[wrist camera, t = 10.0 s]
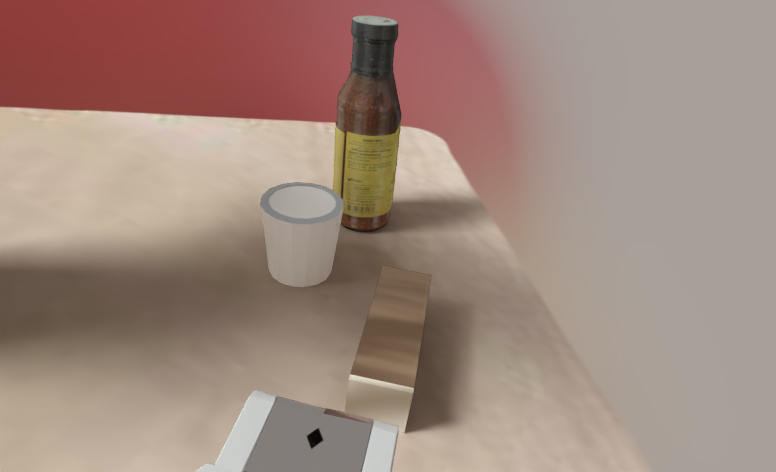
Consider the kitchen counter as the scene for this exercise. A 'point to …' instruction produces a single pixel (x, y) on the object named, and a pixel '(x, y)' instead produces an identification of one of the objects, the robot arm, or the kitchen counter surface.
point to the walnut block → (390, 348)
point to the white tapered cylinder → (301, 232)
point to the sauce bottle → (368, 126)
